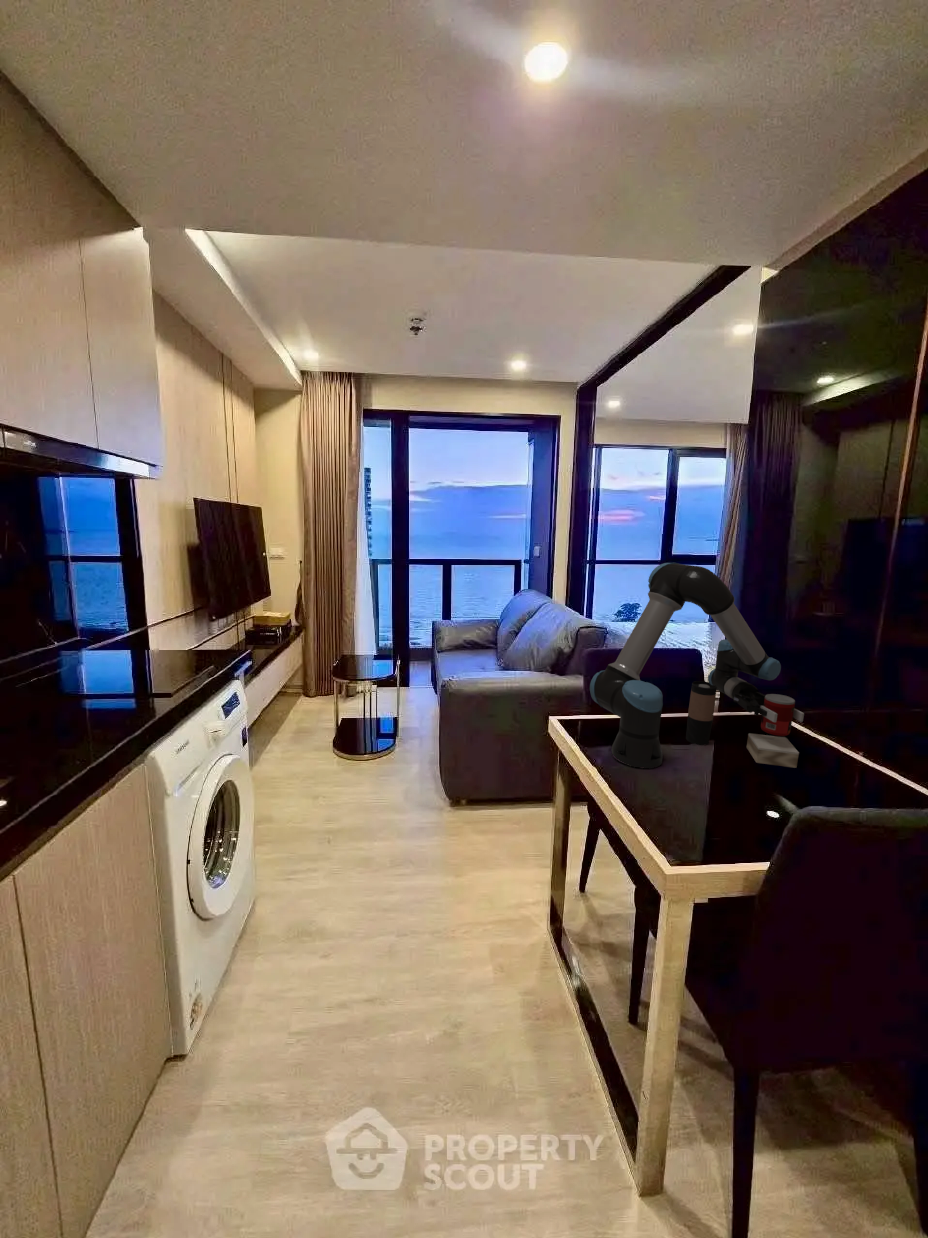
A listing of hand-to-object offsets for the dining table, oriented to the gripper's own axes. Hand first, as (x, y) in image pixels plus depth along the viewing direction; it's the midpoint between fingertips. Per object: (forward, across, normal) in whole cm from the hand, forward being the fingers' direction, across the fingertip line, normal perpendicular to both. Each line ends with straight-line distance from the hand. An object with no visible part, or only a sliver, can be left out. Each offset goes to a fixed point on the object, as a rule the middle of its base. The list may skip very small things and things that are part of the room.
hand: (789, 717), depth 151 cm
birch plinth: (-5, 0, -15) cm, 16 cm away
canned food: (-5, 0, -7) cm, 8 cm away
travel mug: (-17, +17, -16) cm, 29 cm away
